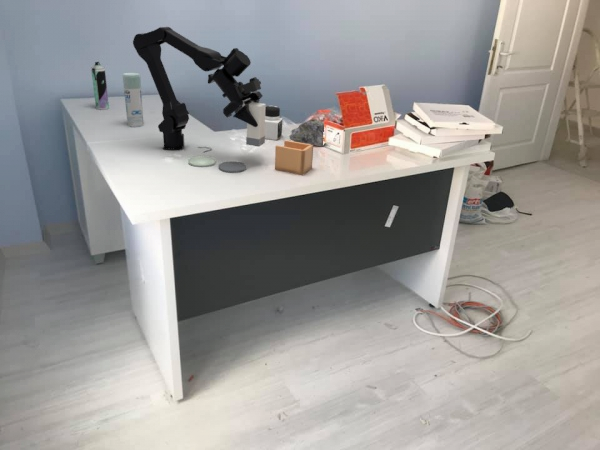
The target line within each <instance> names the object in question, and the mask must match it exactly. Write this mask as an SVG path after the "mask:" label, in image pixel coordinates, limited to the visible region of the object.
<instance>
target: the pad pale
mask: <svg viewBox="0 0 600 450" xmlns="http://www.w3.org/2000/svg"><path fill="white" fill-rule="evenodd" d="M187 162H188V165H190V166H193V167H197V168H208V167H212V166H214V165H216V163H217V160H216V158H215V157H212V156H210V155H209V156H207V155H197V156H196V155H195V156H192V157H189V158H188V160H187Z"/></svg>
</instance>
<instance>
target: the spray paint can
mask: <svg viewBox="0 0 600 450" xmlns="http://www.w3.org/2000/svg"><path fill="white" fill-rule="evenodd" d="M122 80H123V81H122V83H123V91H124V102H125V112H126V122H127V126H128V127H130V128H131V127H132V128H140V127H143V126H144V123H145V122H144V107H143V106H144V105H143V95H142V82H141V74H140V73H137V72H125V73H122Z"/></svg>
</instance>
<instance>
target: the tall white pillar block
mask: <svg viewBox="0 0 600 450" xmlns="http://www.w3.org/2000/svg"><path fill="white" fill-rule="evenodd" d="M266 105H267V104H266V103H263V102H262V103H261V102H260V103H255V102H252V103H250V104H249V111H250V113H251V114H252V116H253V117H254V119H255V121H256V122H257V124H258V126H257V127H254V126H252V125H250V124H248V123H246V139H245V140H246V145H247V146H253V147H261V146H262V145H264V144H265V143H266V141H265V140H266V139H265V107H267V106H266Z"/></svg>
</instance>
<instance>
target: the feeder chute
mask: <svg viewBox="0 0 600 450" xmlns="http://www.w3.org/2000/svg"><path fill="white" fill-rule="evenodd" d="M314 146H315V145H312V144H305V143H300V142H295V141H293V140H287V139H285V140H284V144H283V146H282V145H275V149H274V150H275V151H274V152H275V155H274V171H280V172H285V173H289V174H295V175H299V176H305V174H307V173H308V172H309V171H310V170H312V168H313V159H314Z"/></svg>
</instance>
